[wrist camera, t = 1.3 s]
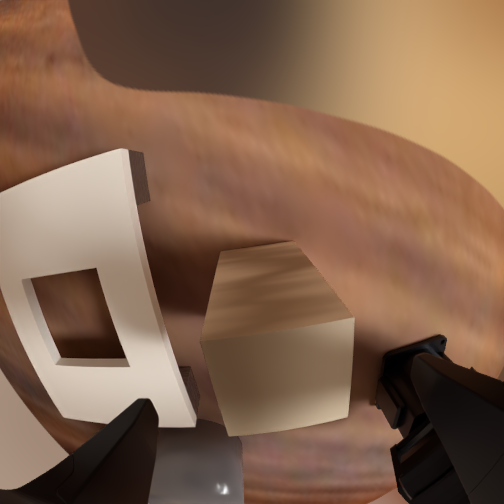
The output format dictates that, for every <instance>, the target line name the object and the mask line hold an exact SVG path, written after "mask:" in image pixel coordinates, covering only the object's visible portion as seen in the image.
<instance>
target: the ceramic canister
mask: <svg viewBox="0 0 504 504" xmlns="http://www.w3.org/2000/svg"><path fill="white" fill-rule="evenodd" d="M148 503H149V504H244V489H243V458H242V443H241V440H240V439H239V437H238V436H230V437H229V436H228V433H227V430H226V427H224V426H222V425H220V424H217V423H215V422H211V421H207V420H202V419H196V426H195V427H158V439H157V454H156V461H155V466H154V472H153V477H152V483H151V489H150V494H149V500H148Z"/></svg>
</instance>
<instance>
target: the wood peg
mask: <svg viewBox="0 0 504 504" xmlns="http://www.w3.org/2000/svg"><path fill="white" fill-rule="evenodd" d="M200 343H201V347H202V350H203V354H204V358H205V361H206V365H207V368H208V372H209V375H210V379H211V382H212V386H213V389H214V392H215V396H216V399H217V402H218V405H219V409H220V412H221V415H222V418H223V421H224V424H225V427H226V430H227V433H228V436H229V437H230V436H242V435H252V434H261V433H269V432H276V431H282V430H289V429H295V428H300V427H306V426H311V425H316V424H320V423H325V422H330V421H334V420H338V419H342V418H346V417H348V409H349V400H350V389H351V378H352V363H353V345H354V316H353V315H352V313H351V312H350V311H349V309H348V308H347V307H346V306H345V304H344V303H343V302H342V300H341V299H340V298H339V297H338V295H337V294H336V293H335V291H334V290H333V289H332V288H331V286H330V285H329V284H328V283H327V281H326V280H325V279H324V277H323V276H322V275H321V274H320V272H319V271H318V270H317V269H316V267H315V266H314V265H313V264H312V262H311V261H310V260H309V259H308V258H307V256H306V255H305V254H304V253H303V251H302V250H301V249H300V248H299V246H298V245H297V244H296V243H295V242H294V241H290V242H283V243H276V244H269V245H262V246H255V247H248V248H241V249H234V250H227V251H221V252H220V256H219V260H218V264H217V268H216V273H215V277H214V281H213V285H212V290H211V294H210V299H209V303H208V307H207V312H206V316H205V321H204V325H203V330H202V335H201V339H200Z"/></svg>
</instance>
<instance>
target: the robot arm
mask: <svg viewBox="0 0 504 504" xmlns="http://www.w3.org/2000/svg"><path fill="white" fill-rule="evenodd" d="M446 342H447V338H446V337H445V336H444V335H441V336H438V337H435V338H432V339H430V340H427V341H424V342H421V343H418V344H415V345H412V346H408V347H405V348H402V349H399V350H395V351H392V352H389V353H387V354H385V356H384V357H383V362H382V369H381V376H380V378H379V380H378V386H377V392H376V407H377V409H381V410H382V411H383V413H384V415H385V417H386V419H387V421H388V422H389V424H390V426H391V428H393V429H397V428H398V429H399V431H400V433H401V435H402V436H403V438H404V439H403V440H401V441H400V442H399V443H398V444H395V445H394V446H393V447H391V448H390V451H391V456H392V462H393V467H394V472H395V477H396V482H397V488H398V492H399V493H400V494H401V495H402V497H403V498H404V499H405V500H406V501H407V502H408V503H409V504H504V381H503V382H502V381H501V380H498V379H495V378H493V377H490V376H487V375H484V374H481V373H479V372H477V371H476V370H475V369H474V368H473V367H471V368H470V369H468V368H465V367H462V366H460V365H457V364H454V363H453V362H452V361H451V360H450V359H449V358H448V357H447V356H446V355H445V354H444V351H445V346H446ZM389 358H390V359H389ZM158 426H159V416H158V413H157V411H156V409H155V407H154V405H153V403H152V401H151V400H150V399H149V398H138V399H137V400H135V401H134V402H133V403H132V404H131V405H130V406H128V407H127V408H126V409H125V410H124V411H123V412H121V413H120V414H119V415H118V416H117V417H115V418H114V419H113V420H112V421H111V422H110V423H108V424H107V425H106V426H105V427H104V428H102V429H101V430H100V431H99V432H98V433H96V434H95V435H94V436H93V437H91V438H90V439H89V440H88V441H87V442H85V443H84V444H83V445H82V446H80V447H79V448H78V449H77V450H75V451H74V452H73V454H70V455H69V456H68V457H67V458H65V459H64V460H63V461H61V462H60V463H59V464H57V465H56V466H55V467H53V468H52V469H50V470H49V471H47V472H46V473H44V474H42V475H41V476H39V477H37V478H36V479H34V480H32V481H31V482H29V483H27V484H25V485H24V486H22V487H20V488H17V489H12V490H2V489H0V504H148V500H149V494H150V489H151V483H152V477H153V472H154V466H155V461H156V454H157V439H158Z"/></svg>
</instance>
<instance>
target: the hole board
mask: <svg viewBox="0 0 504 504" xmlns="http://www.w3.org/2000/svg"><path fill="white" fill-rule="evenodd" d="M148 201H150V196H149V190H148V184H147V177H146V170H145V163H144V156H143V153H142V152H137V151H132V150H127V149H122V148H120V149H117V150H113V151H110V152H106V153H103V154H100V155H96V156H93V157H90V158H87V159H84V160H81V161H78V162H75V163H72V164H69V165H66V166H64V167H61V168H58V169H55V170H53V171H50V172H48V173H45V174H42V175H40V176H37V177H35V178H33V179H30V180H28V181H25V182H23V183H21V184H19V185H16V186H14V187H12V188H10V189H7V190H5V191H3V192H1V193H0V288H1V291H2V294H3V297H4V300H5V303H6V305H7V308H8V311H9V313H10V316H11V319H12V321H13V324H14V326H15V328H16V331H17V333H18V335H19V338H20V340H21V342H22V344H23V347H24V349H25V351H26V353H27V355H28V357H29V359H30V361H31V363H32V365H33V367H34V369H35V371H36V373H37V374H38V376H39V378H40V380H41V382H42V384H43V385H44V387H45V389H46V390H47V392H48V394H49V396H50V397H51V399H52V400H53V402H54V404H55V405H56V407H57V408H58V410H59V412H60V413H61V415H62V416H63V417H64V418H70V419H76V420H82V421H89V422H97V423H105V424H108V423H110V422H111V421H112V420H113V419H114V418H115V417H117V416H118V415H119V414H120V413H121V412H123V411H124V410H125V409H126V408H127V407H128V406H130V405H131V404H132V403H133V402H134V401H135V400H137V399H138V398H149V399H150V400H151V401H152V403H153V405H154V407H155V409H156V411H157V413H158V416H159V426H158V427H195V426H196V419H197V412H198V405H199V398H200V394H199V391H198V388H197V385H196V382H195V379H194V376H193V373H192V370H191V367H180V368H178V365H177V362H176V359H175V356H174V353H173V350H172V347H171V344H170V341H169V338H168V334H167V331H166V328H165V324H164V321H163V317H162V314H161V310H160V307H159V303H158V300H157V296H156V292H155V288H154V284H153V280H152V276H151V272H150V268H149V264H148V260H147V255H146V251H145V246H144V241H143V237H142V232H141V227H140V222H139V217H138V211H137V206H136V205H139V204H142V203H145V202H148ZM92 268H97V272H98V275H99V279H100V283H101V286H102V289H103V293H104V296H105V299H106V302H107V305H108V308H109V311H110V314H111V317H112V320H113V323H114V326H115V329H116V332H117V334H118V337H119V340H120V342H121V345H122V348H123V350H124V353H125V355H126V358H125V359H82V358H61V356H60V354H59V352H58V350H57V348H56V345H55V343H54V341H53V339H52V336H51V334H50V331H49V329H48V327H47V324H46V322H45V319H44V316H43V314H42V311H41V308H40V306H39V303H38V300H37V297H36V294H35V291H34V288H33V285H32V282H31V278H34V277H41V276H47V275H53V274H59V273H66V272H72V271H79V270H85V269H92Z"/></svg>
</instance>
